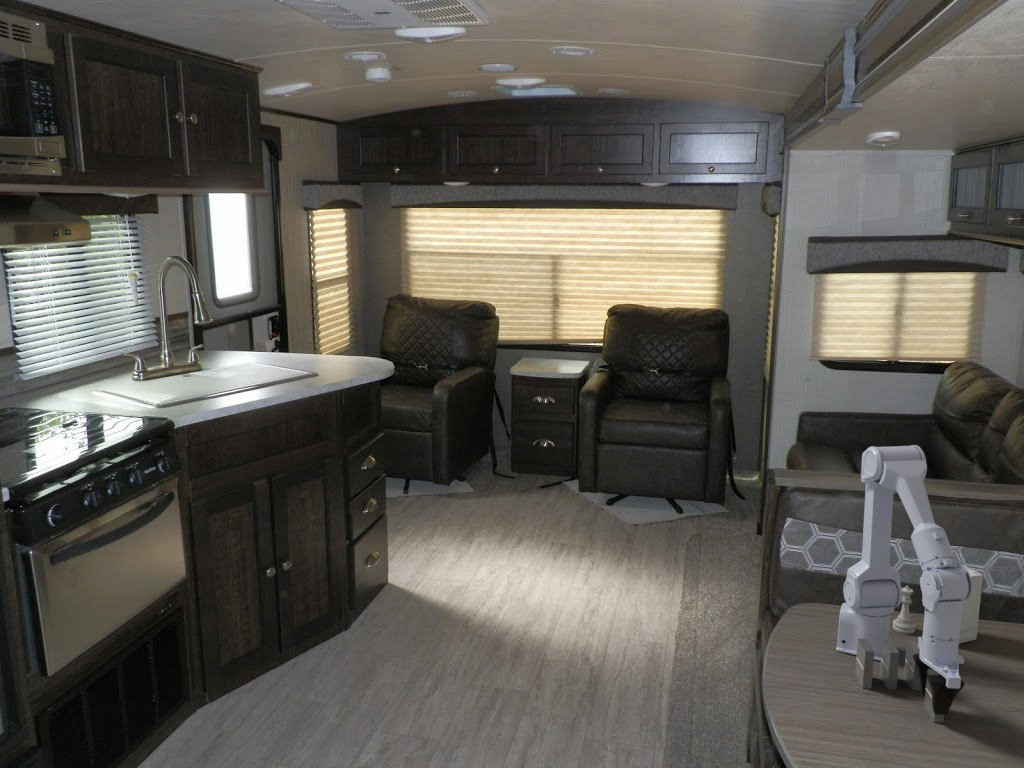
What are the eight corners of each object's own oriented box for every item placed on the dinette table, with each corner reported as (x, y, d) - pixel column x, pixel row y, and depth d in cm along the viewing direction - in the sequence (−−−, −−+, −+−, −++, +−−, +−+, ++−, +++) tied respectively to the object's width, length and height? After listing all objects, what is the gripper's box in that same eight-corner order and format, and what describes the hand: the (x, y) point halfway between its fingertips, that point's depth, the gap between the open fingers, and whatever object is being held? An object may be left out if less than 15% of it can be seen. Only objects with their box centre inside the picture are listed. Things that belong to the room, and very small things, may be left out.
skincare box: (954, 628, 188) (961, 562, 185) (978, 641, 182) (985, 573, 179) (924, 635, 185) (930, 568, 182) (947, 648, 179) (953, 579, 177)
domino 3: (912, 690, 164) (915, 653, 162) (903, 676, 169) (906, 640, 167) (921, 691, 164) (925, 653, 162) (912, 677, 168) (916, 640, 167)
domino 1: (862, 688, 165) (865, 651, 163) (854, 674, 169) (857, 638, 168) (871, 688, 164) (874, 651, 163) (864, 675, 169) (866, 638, 168)
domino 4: (933, 722, 154) (937, 682, 152) (923, 706, 158) (926, 668, 157) (943, 722, 153) (947, 683, 152) (933, 707, 158) (937, 668, 157)
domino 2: (887, 689, 164) (890, 652, 163) (878, 675, 169) (881, 639, 168) (896, 689, 164) (899, 652, 163) (888, 676, 169) (891, 639, 167)
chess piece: (913, 636, 184) (917, 591, 182) (890, 631, 187) (894, 587, 185) (916, 628, 188) (920, 584, 186) (894, 623, 190) (897, 580, 188)
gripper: (982, 654, 145) (975, 729, 148) (949, 615, 160) (942, 684, 162) (938, 652, 146) (931, 727, 149) (908, 613, 160) (902, 682, 163)
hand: (934, 704), depth 155 cm, fingers closed on domino 4, 5 cm apart
